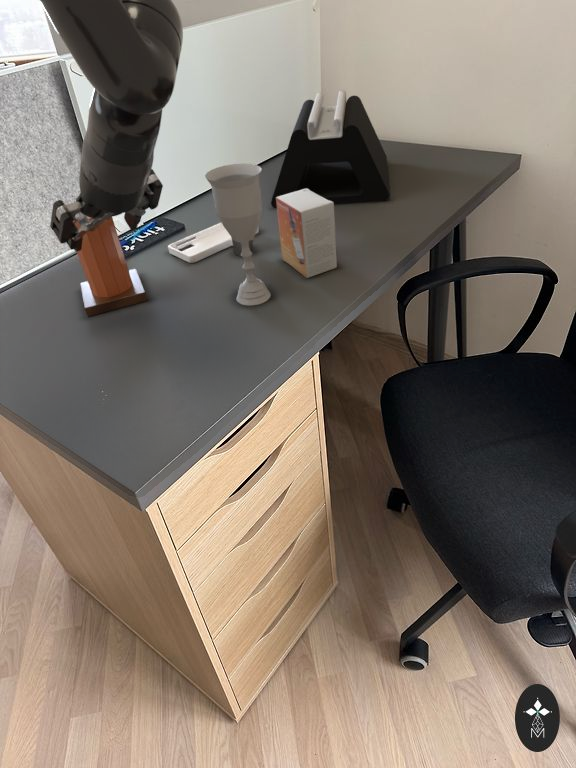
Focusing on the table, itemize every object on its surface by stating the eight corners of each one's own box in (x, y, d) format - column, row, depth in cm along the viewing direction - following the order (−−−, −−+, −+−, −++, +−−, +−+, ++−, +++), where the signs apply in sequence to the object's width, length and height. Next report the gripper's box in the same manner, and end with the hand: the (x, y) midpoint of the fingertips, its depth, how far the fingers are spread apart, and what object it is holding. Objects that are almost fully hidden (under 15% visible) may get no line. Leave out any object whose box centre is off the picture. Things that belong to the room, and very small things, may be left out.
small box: (282, 260, 91) (274, 196, 85) (312, 250, 93) (306, 186, 87) (306, 279, 86) (299, 211, 79) (338, 268, 87) (334, 201, 81)
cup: (93, 301, 84) (65, 224, 77) (90, 284, 89) (63, 209, 82) (135, 290, 86) (111, 213, 78) (129, 273, 90) (106, 199, 83)
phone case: (191, 264, 94) (260, 232, 101) (190, 256, 93) (259, 225, 100) (168, 253, 99) (235, 223, 106) (166, 245, 98) (234, 216, 105)
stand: (87, 317, 84) (60, 244, 77) (82, 291, 91) (57, 222, 83) (147, 300, 86) (126, 228, 79) (138, 276, 93) (118, 208, 85)
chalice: (221, 306, 82) (196, 181, 71) (238, 284, 87) (217, 163, 76) (269, 310, 80) (250, 181, 69) (284, 286, 85) (268, 163, 73)
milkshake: (225, 260, 94) (213, 201, 88) (235, 246, 98) (224, 188, 92) (251, 260, 93) (241, 200, 86) (260, 246, 97) (251, 188, 90)
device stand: (386, 162, 124) (386, 86, 115) (389, 200, 106) (389, 114, 97) (285, 169, 127) (277, 96, 118) (271, 208, 110) (261, 126, 101)
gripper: (152, 120, 68) (133, 195, 82) (39, 153, 61) (39, 229, 75) (186, 172, 68) (160, 239, 82) (76, 212, 61) (69, 276, 75)
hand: (102, 234), depth 79 cm, fingers open, 8 cm apart
